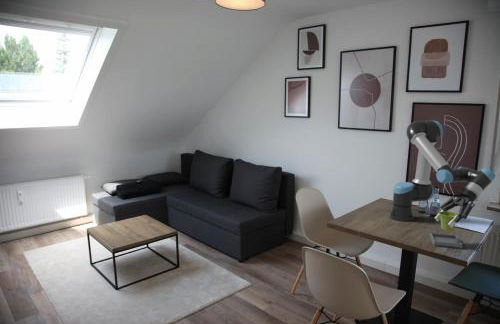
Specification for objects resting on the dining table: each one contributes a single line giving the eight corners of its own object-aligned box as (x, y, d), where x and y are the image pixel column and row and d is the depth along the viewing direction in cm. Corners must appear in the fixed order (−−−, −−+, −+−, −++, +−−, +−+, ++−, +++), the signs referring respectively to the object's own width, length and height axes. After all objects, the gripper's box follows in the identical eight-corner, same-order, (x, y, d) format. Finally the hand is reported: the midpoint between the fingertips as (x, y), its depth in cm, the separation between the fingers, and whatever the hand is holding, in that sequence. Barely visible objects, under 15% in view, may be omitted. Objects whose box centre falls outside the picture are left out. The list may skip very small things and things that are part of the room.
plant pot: (433, 226, 190) (435, 211, 189) (450, 225, 191) (451, 210, 190) (444, 232, 181) (446, 216, 180) (461, 231, 182) (463, 216, 180)
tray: (433, 245, 184) (434, 241, 183) (429, 236, 196) (430, 232, 196) (462, 248, 180) (462, 244, 179) (456, 239, 192) (456, 235, 191)
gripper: (492, 202, 176) (462, 234, 175) (458, 192, 197) (432, 220, 196) (484, 192, 174) (454, 225, 173) (451, 183, 195) (424, 212, 195)
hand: (442, 222), depth 185 cm, fingers closed on plant pot, 9 cm apart
